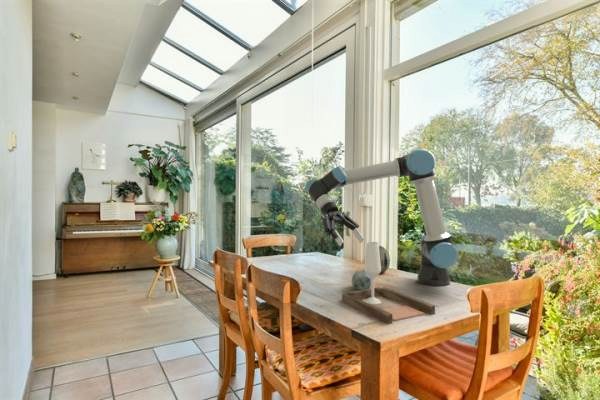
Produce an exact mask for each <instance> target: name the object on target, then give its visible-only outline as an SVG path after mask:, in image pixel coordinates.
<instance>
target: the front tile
mask: <svg viewBox="0 0 600 400" xmlns="http://www.w3.org/2000/svg"><path fill="white" fill-rule="evenodd" d="M383 310H384V311H386V312H389V313H391V314H392V321H394V322H395V321H396V322H397V321H401V320H405V319H410V318H415V317H419V316H424V315H425V314H426V312H423V311H421V310H418V309H416V308H413V307H411V306H408V305H406V304H403V305H401V306H395V307H390V308H385V309H383Z"/></svg>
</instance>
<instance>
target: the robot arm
mask: <svg viewBox="0 0 600 400" xmlns="http://www.w3.org/2000/svg"><path fill="white" fill-rule="evenodd" d="M435 166H436V158H435V156H434V154H433V153H432V151H429V150H428V149H425V148H419V149H418V148H417V149H414V150H413V151H411V152H410V153H408V154H406V155H403V156H400V157H396V158H394V159H393V160H391V161H390V160H389V161H385V162H379V163H376V164H370V165H366V166H359V167H354V168H350V169H349V168H348V169H342V167H341V166H339V165H337V166H336V167H334V168H332V170H330V171H329V172H327V173H326V174H325V175H324V176H322V177H321V178H319V179H318V178H315V177H314V178H312V179H309V180H308V181H307V182H306V183H305V190H306V192H307V193H308V195H309V196H310V197H311V199H312V201H313V202H314V203H315V205H316V206H317V208H318V209H319V211H320V212H321V214H322V215H321V216H320V218H321V220H322V223H323V228H324V232H325V233H326V234H328V235H329V236H332V237H333V239H334V240H335V242H336V243H337V245H338V246H339V247H341V246H342V245H343V244H344V243H345V241H344V240H343V237H341V235H340V234H339V231H338V230H337V229H335V224H340V225H343V226H344V227H346V228H348V229H350V230H351V232H352V234H353V235H354V237H355V238H356V239H357V241H358V242H359V243H360V244H361V243H363V242H364V241H365V237H364V236H363V234H362V233H361V232H360V230H359V227H360V225H359V224H358V223H357V222H356V221H354V220H353V219H352V218H351V217H349V216H348V215H347V214H346V212H345V211H342V212H339V207H338V205H337V204H336V202H335V201H334V200H333V198H332V196H331V195H330V194H329V193H330V192H331V191H332V190H334V189H336V188H338V187H343V186H347V185H348V186H349V185H353V184H360V183H364V182H365V183H366V182H370V181H375V180H380V179H387V178H391V177H398V178H402V177H404V178H405V177H408V180H409V182H410V183H411V184H412V185H413V186H414V190H415V193H416V197H417V202H418V206H419V210H420V213H421V218H422V222H423V227H424V231H425V234H426V235H422V236H421V238H420V268H419V270H418V275H417V277H416V278H417V279H416V280H417V282H418V283H420V284H423V285H426V286H435V287H436V286H437V287H440V286H448V285H451V278H450V276H449V272H448V268H450V267H452V266H454V265H455V263H457V260H458V258H459V252H458V249H457V247H456V246H455V245H454V243H453V239H452V235H451V234H450V233H448V232H447V229H446V226H445V222H444V217H443V214H442V209H441V205H440V201H439V196H438V192H437V188H436V184H435V179H436V177H437V173H436V169H435Z"/></svg>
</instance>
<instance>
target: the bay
mask: <svg viewBox="0 0 600 400" xmlns="http://www.w3.org/2000/svg"><path fill="white" fill-rule="evenodd" d="M380 296H383V297H385V298H388V299H391V300H394V301H396V302H398V303H400V304H403V305H406V306H408V307H411V308H413V309H416V310H418V311H421V312H423V313H425V314H428V315H434V314H436V305H435V304H432V303H430V302H426V301H424V300H421V299H418V298H416V297H413V296H411V295H410V296H409V295H408V294H404V293H401V292H399V291H396V290H393V289H390V288H388V287H385V286H383V287H374V297H375V298H376V297H380ZM370 297H371V288H369V289H365V290H359V291H358V290H354V291H353V290H352V291H348V292H344V293H341V302H342V303H345V304H346V305H348V306H351V307H353V308H355V309H357V310H358V311H361V312H362V313H364V314H367V315H368V316H370V317H373V318H375V319H377V320H378V321H381V322H383V323H385V324H387V325H389V324H393V320H392V314H391V313H389V312H386V311H384V309H381V308H380V307H377V306H375V305H374V304H369V303H366V302H365V300H363V299H368V298H370Z"/></svg>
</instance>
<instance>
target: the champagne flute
mask: <svg viewBox="0 0 600 400" xmlns="http://www.w3.org/2000/svg"><path fill="white" fill-rule="evenodd" d="M379 246H380V243H379V242H377V241H367V242H366V247H365V258H364V269H363V271H365V272H366V274H367V275H368V276H369V277H371V286H370V289H371V297H370V298H365V300H364V302H366V303H369V304H371V305H378V304H382V300H380V299H378V298H376V296H375V297H374V288H375V278H377V277H378V276H379V275H380V274H381V273H380V272H381V263H380V252H379Z"/></svg>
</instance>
